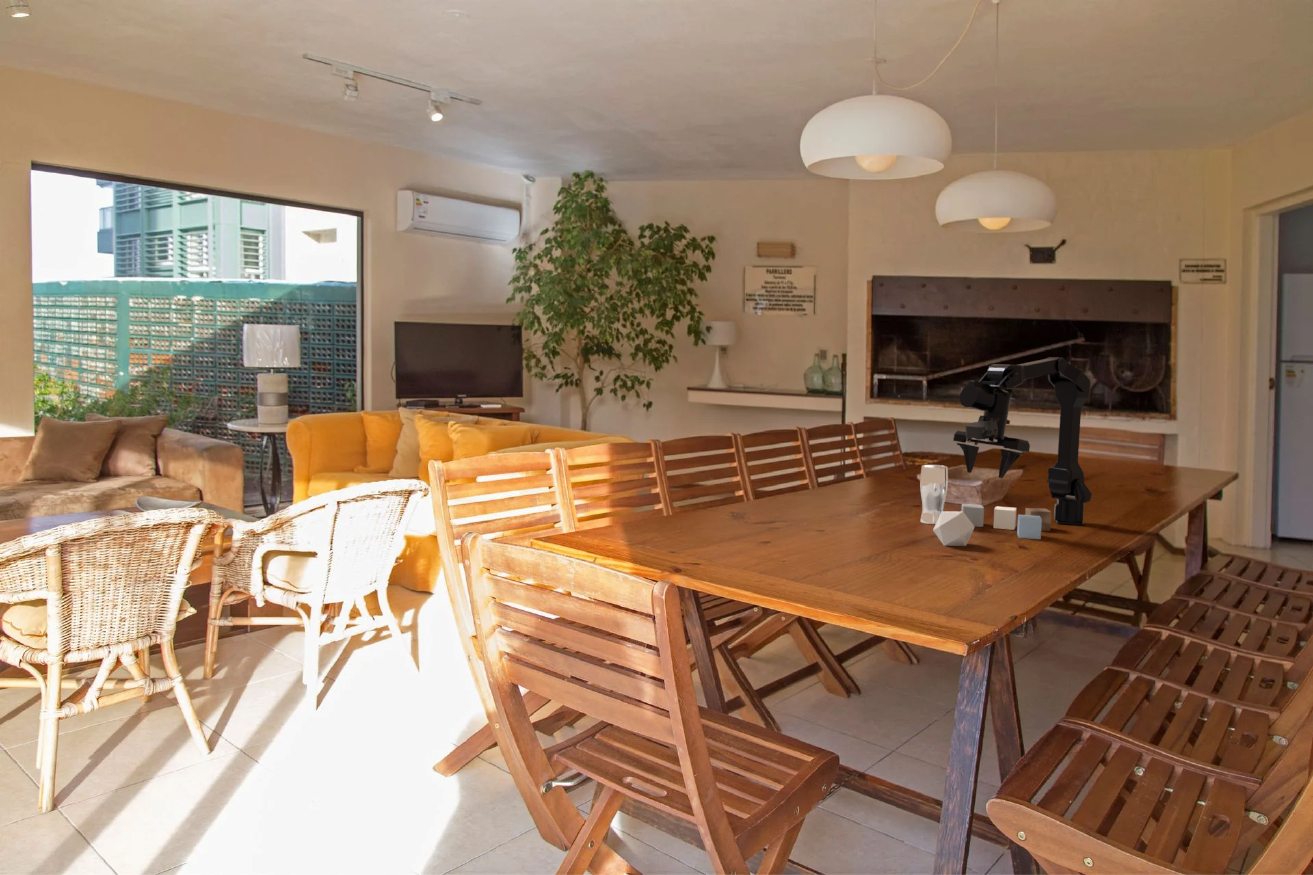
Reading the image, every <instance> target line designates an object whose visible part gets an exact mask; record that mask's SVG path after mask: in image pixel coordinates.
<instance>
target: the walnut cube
mask: <svg viewBox="0 0 1313 875" xmlns="http://www.w3.org/2000/svg"><path fill="white" fill-rule="evenodd" d="M1024 511H1025V512H1024V515H1033V516H1040V517H1041V519H1042V524H1041V532H1050V531H1051V523H1052V522H1051V521H1052V511H1051V510H1049V509H1047V508H1044V507H1043V508H1039V507H1037V508H1036V507H1025V510H1024Z"/></svg>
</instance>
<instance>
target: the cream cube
mask: <svg viewBox="0 0 1313 875" xmlns="http://www.w3.org/2000/svg"><path fill="white" fill-rule="evenodd" d="M1016 524H1017V507H1009V506H998V505H997V506H995V507H994V510H993V529H1000V530H1001V529H1002V530H1011V531H1012V530H1013V531H1014V530H1015V529H1016Z"/></svg>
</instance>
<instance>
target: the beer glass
mask: <svg viewBox="0 0 1313 875" xmlns="http://www.w3.org/2000/svg"><path fill="white" fill-rule="evenodd" d="M948 478H949V470H948V466H946V465H941V464H923V465H921V470H920V478H919V479H920V480H919V482H920V483H919V485H920V486H919V487H920V489H919V490H920V496H921V503H922V504H921V505H922V509H921V510H922V511H921V516H920V521H919V522H920V523H922V524H926V525H934V526H935V525H936V523H937V520H938V518H939V516H940V514H941V512H942V511H944V506H945V501H946V497H947V493H948V485H949V484H948V483H949V482H948V481H949V479H948Z"/></svg>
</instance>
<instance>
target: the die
mask: <svg viewBox="0 0 1313 875" xmlns="http://www.w3.org/2000/svg"><path fill="white" fill-rule="evenodd" d="M974 530H975V526H974V525H973V524H972V523H971V521H970V520H969V519H968V517H967V516H966V515H965V513H964V512H963V511H961V510H960V511H954V510H953V511H948V510H945V511H944V510H943V511H942V512H941V514H940V516H939V518H938V520H937V523H936V525H934V527H933V529H932V531H933V533H934V534H935V535H936V536H937V538H938V540H940V542H941V543H942V545H943V547H967V545H968V542H969V540H970V538H971V536H972V534H973V531H974Z"/></svg>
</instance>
